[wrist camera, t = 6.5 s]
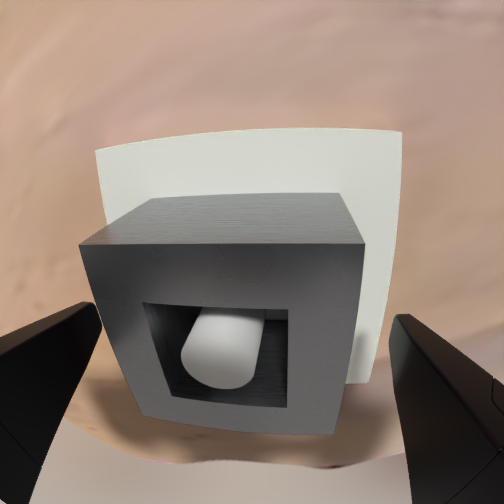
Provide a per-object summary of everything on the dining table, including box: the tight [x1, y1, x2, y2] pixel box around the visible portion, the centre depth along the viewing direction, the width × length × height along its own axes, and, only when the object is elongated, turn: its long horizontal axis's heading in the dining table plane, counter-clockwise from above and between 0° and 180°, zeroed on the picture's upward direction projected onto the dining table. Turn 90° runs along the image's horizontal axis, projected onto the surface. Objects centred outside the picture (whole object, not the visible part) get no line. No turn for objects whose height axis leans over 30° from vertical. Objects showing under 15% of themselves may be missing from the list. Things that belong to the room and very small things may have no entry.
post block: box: [95, 128, 402, 389], centre depth 9 cm, size 10×10×5 cm
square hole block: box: [79, 193, 365, 435], centre depth 9 cm, size 6×6×4 cm
